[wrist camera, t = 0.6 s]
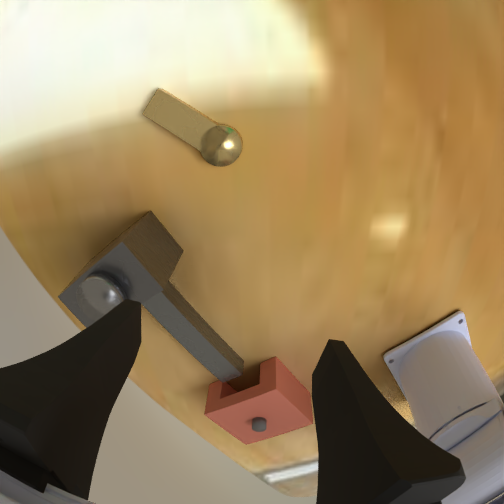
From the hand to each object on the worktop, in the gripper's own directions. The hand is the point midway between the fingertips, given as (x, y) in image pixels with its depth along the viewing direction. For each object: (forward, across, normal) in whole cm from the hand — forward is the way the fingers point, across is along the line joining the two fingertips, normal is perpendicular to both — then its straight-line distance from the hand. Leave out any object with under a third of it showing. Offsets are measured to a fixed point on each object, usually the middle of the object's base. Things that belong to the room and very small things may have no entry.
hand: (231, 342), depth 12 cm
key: (+10, +5, -6) cm, 13 cm away
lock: (+10, -4, +15) cm, 18 cm away
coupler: (+10, +4, +7) cm, 13 cm away
